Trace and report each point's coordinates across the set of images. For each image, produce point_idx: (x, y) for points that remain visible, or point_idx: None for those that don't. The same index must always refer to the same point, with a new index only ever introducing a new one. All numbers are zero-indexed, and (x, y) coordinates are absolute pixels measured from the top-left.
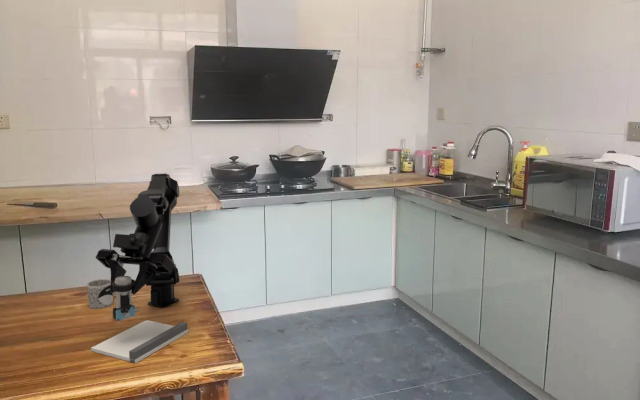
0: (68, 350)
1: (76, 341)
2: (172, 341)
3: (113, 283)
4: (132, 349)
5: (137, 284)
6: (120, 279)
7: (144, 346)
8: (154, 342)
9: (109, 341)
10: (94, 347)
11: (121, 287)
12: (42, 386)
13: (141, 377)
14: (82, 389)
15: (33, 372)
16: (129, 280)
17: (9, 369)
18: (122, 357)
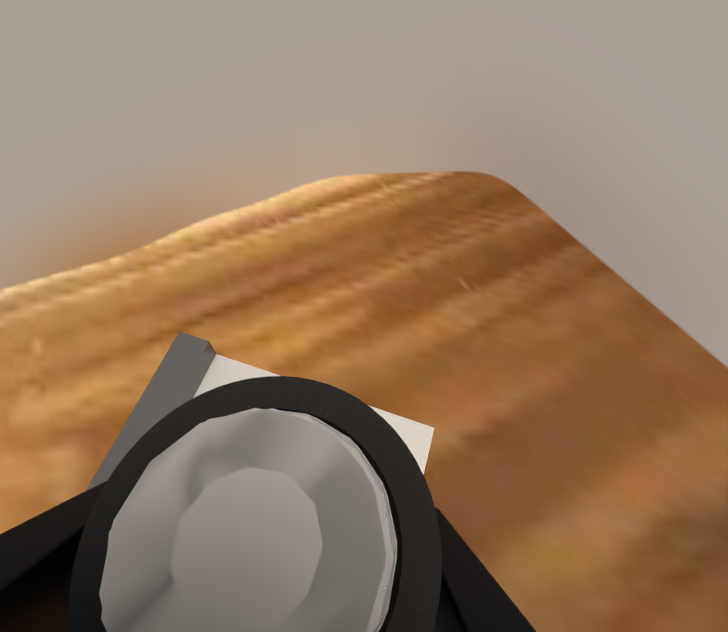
0: (530, 426)
1: (565, 521)
2: None
3: (388, 466)
4: (198, 358)
5: (15, 529)
6: (279, 485)
7: (148, 393)
8: (110, 455)
9: None
10: (421, 433)
11: (230, 384)
12: (429, 203)
13: (136, 261)
14: (302, 196)
15: (519, 266)
16: (121, 513)
17: (609, 277)
18: (254, 368)
